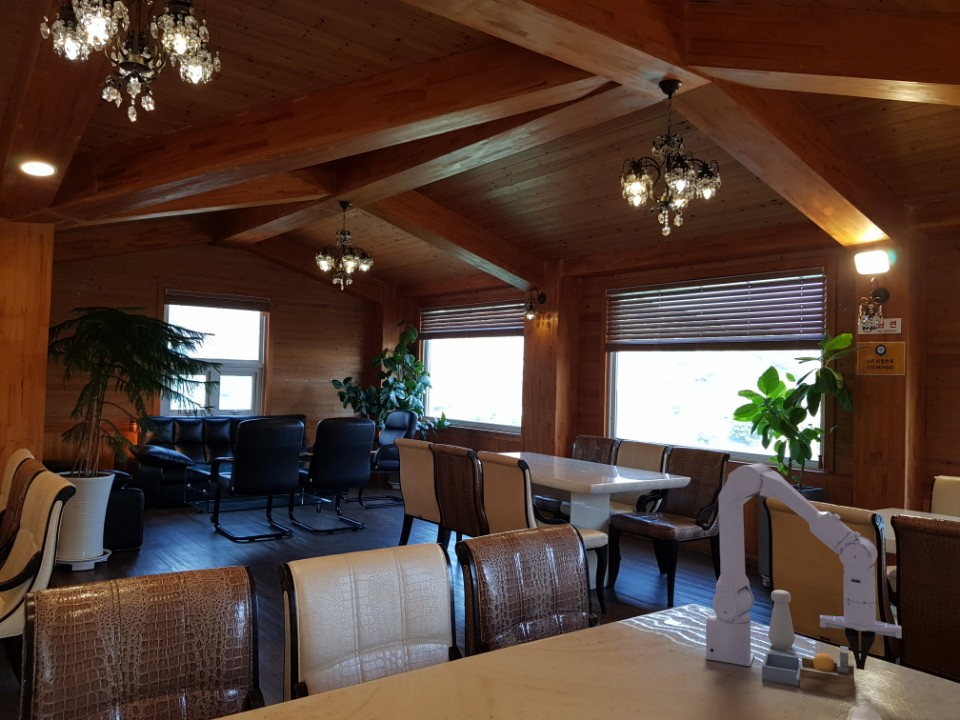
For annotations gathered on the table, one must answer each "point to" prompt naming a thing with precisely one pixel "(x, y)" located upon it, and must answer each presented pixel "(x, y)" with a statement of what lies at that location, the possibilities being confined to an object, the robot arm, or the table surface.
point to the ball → (823, 663)
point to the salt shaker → (781, 621)
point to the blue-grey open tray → (781, 669)
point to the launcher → (826, 679)
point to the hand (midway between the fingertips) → (860, 667)
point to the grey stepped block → (843, 661)
